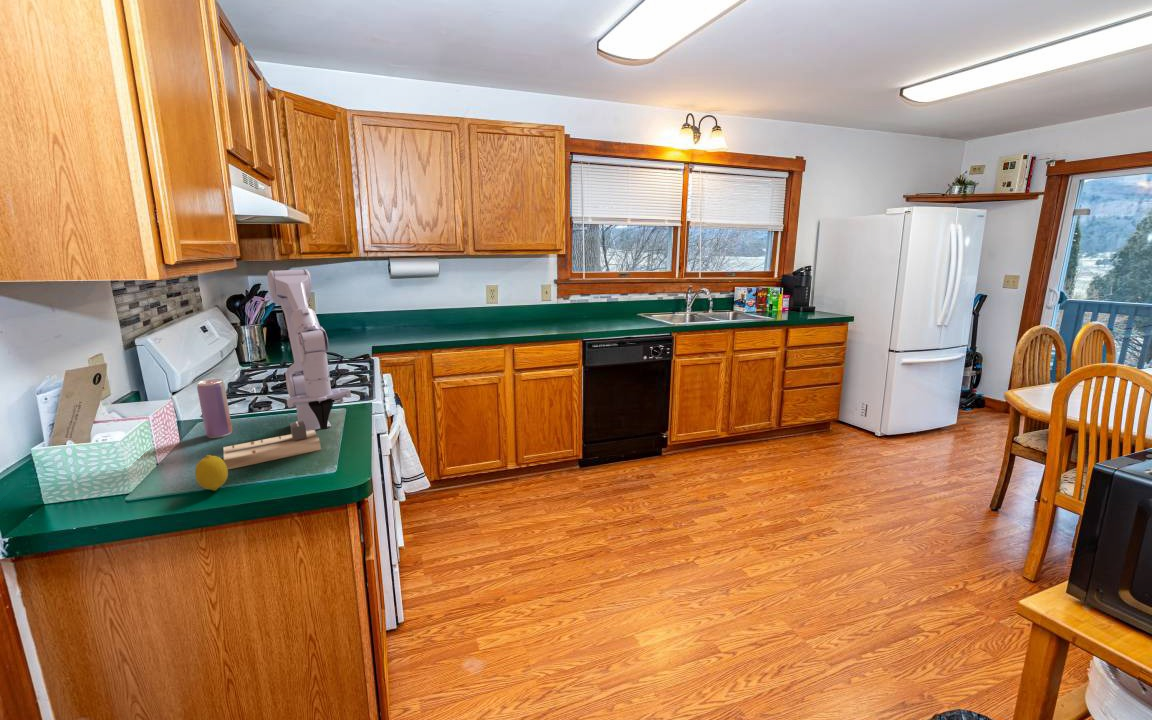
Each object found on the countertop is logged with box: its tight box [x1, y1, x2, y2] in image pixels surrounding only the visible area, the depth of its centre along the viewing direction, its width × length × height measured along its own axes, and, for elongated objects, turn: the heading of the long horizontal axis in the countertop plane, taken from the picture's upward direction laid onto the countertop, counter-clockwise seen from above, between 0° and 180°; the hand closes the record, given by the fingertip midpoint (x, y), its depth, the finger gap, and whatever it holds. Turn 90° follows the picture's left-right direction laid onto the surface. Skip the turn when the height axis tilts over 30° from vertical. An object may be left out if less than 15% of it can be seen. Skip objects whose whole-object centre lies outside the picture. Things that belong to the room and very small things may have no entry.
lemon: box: [194, 454, 229, 492], centre depth 108 cm, size 6×6×8 cm
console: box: [223, 430, 322, 470], centre depth 127 cm, size 9×20×3 cm, turn 124°
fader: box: [289, 421, 307, 441], centre depth 129 cm, size 4×3×4 cm
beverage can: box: [196, 378, 233, 439], centre depth 138 cm, size 6×6×15 cm
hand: (323, 428), depth 133 cm, fingers closed
